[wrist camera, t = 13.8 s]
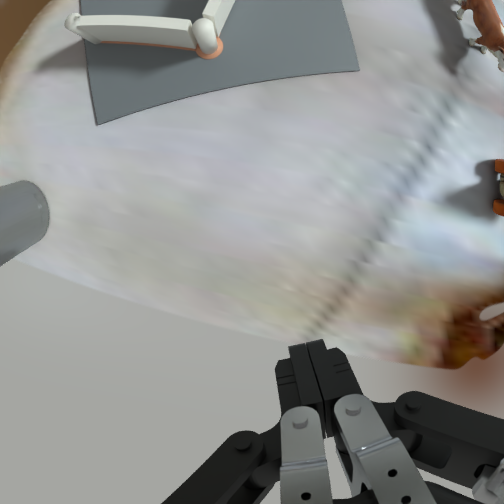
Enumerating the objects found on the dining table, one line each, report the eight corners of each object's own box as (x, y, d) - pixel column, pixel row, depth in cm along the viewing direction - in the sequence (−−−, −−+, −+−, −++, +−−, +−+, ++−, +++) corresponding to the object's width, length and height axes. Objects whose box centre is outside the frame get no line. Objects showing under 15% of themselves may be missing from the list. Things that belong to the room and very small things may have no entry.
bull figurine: (474, 75, 33) (510, 71, 25) (445, -6, 28) (476, -22, 21) (492, 75, 32) (528, 72, 25) (465, -3, 28) (496, -17, 20)
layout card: (99, 124, 34) (97, 124, 33) (81, -8, 27) (79, -9, 27) (358, 70, 33) (360, 70, 33) (319, -58, 26) (319, -60, 26)
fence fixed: (220, 41, 31) (215, 19, 24) (215, 56, 32) (210, 37, 25) (94, 31, 30) (67, 13, 22) (90, 44, 30) (62, 29, 23)
